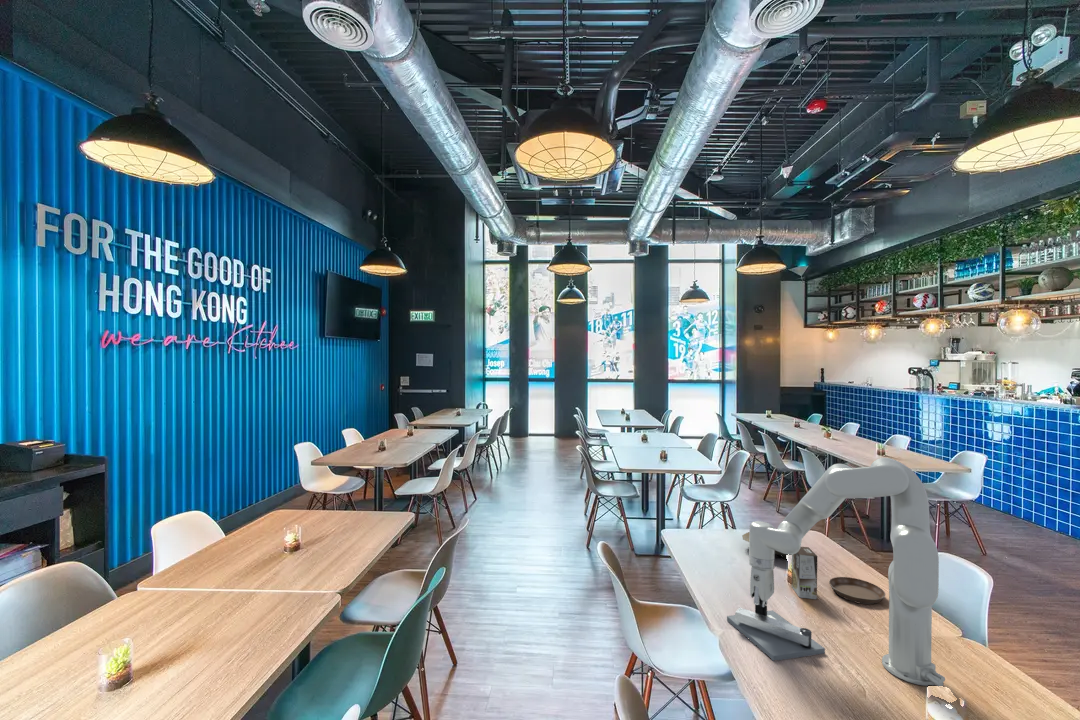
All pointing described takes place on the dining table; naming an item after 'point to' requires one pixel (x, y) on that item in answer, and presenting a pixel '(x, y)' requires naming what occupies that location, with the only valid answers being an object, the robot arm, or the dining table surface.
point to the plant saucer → (857, 590)
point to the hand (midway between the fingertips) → (760, 616)
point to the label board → (775, 640)
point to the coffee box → (804, 573)
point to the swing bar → (774, 627)
